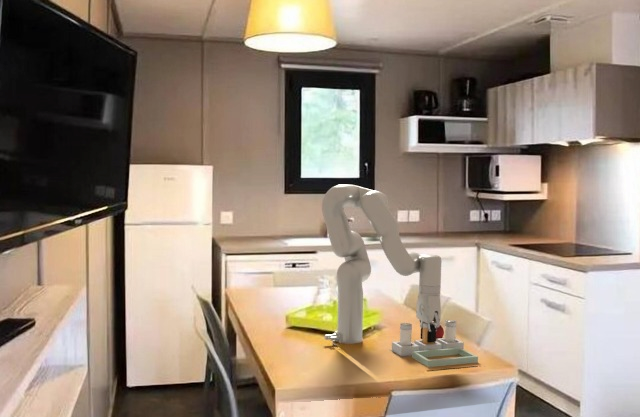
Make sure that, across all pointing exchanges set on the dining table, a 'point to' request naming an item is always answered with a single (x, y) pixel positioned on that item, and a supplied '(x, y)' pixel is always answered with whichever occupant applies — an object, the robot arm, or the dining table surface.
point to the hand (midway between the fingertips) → (428, 340)
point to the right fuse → (450, 331)
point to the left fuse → (405, 334)
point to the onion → (439, 332)
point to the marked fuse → (425, 333)
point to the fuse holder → (424, 346)
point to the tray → (465, 359)
